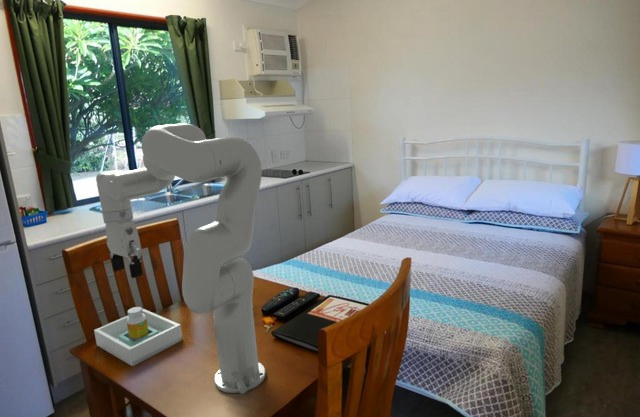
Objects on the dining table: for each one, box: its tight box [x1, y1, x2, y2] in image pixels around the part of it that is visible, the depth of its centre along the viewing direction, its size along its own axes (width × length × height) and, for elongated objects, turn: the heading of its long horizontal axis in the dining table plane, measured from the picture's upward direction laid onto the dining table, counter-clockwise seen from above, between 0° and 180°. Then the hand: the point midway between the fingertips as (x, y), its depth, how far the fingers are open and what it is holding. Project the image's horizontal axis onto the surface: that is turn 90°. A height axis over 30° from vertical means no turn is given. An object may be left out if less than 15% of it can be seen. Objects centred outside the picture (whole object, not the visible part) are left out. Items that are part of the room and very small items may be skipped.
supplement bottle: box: [127, 306, 149, 341], centre depth 129 cm, size 5×5×10 cm
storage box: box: [93, 308, 184, 367], centre depth 130 cm, size 20×16×5 cm
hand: (128, 273), depth 125 cm, fingers open, 9 cm apart
